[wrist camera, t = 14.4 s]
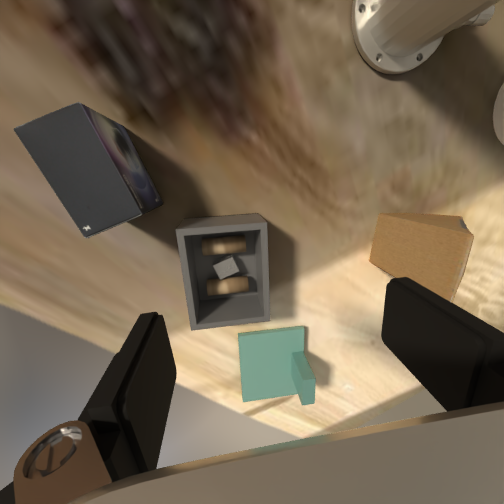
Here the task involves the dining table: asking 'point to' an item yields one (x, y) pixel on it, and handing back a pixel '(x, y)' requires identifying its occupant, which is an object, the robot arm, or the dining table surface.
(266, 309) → the tub
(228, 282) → the dowel
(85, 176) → the small box
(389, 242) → the sandwich container
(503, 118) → the honey pot
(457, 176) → the dining table surface
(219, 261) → the metal block
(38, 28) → the dining table surface
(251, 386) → the lid
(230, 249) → the dowel
